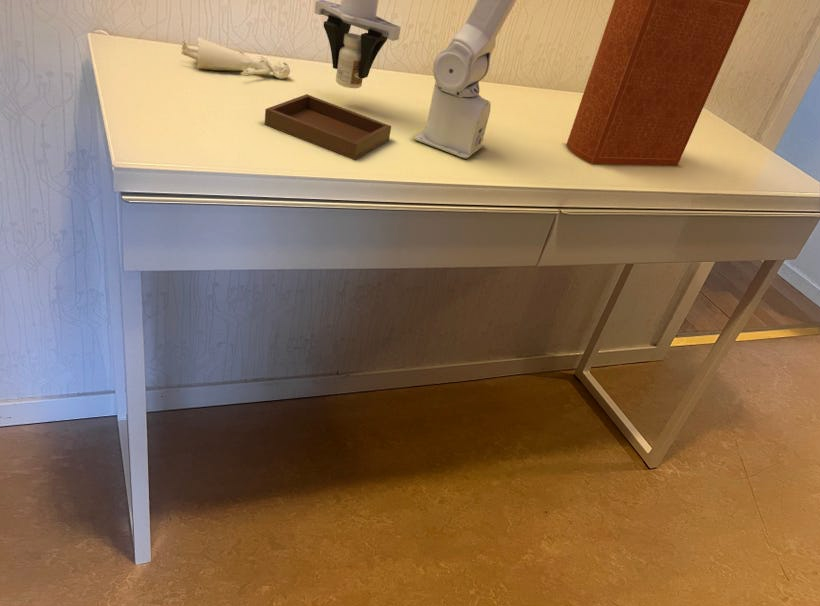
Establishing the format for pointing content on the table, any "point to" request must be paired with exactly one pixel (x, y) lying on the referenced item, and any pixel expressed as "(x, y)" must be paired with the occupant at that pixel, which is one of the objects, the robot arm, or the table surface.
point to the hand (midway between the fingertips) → (350, 72)
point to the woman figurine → (231, 60)
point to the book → (652, 79)
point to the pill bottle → (349, 62)
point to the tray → (328, 125)
